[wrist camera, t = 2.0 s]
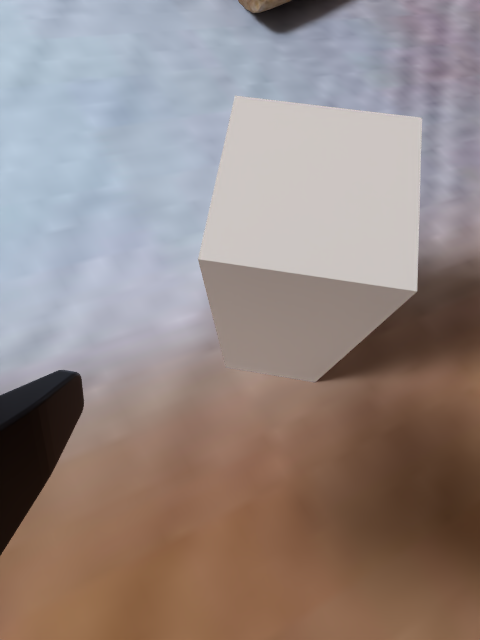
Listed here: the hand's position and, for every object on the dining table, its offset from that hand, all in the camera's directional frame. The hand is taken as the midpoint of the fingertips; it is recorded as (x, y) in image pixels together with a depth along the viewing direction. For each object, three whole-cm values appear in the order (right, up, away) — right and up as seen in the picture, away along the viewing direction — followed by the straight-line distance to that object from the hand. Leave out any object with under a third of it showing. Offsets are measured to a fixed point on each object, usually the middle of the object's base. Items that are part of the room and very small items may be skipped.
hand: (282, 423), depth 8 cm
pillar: (+1, +1, +12) cm, 12 cm away
